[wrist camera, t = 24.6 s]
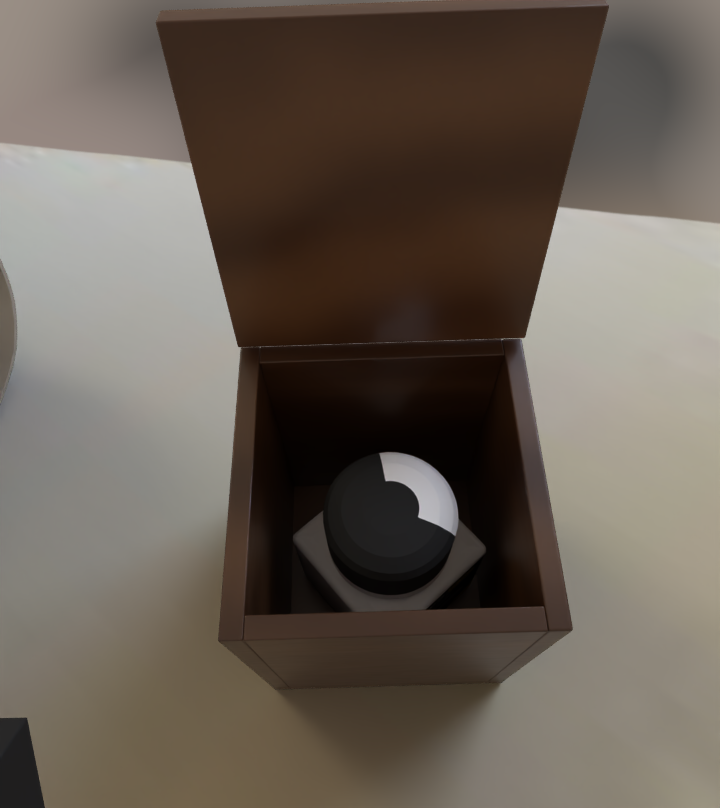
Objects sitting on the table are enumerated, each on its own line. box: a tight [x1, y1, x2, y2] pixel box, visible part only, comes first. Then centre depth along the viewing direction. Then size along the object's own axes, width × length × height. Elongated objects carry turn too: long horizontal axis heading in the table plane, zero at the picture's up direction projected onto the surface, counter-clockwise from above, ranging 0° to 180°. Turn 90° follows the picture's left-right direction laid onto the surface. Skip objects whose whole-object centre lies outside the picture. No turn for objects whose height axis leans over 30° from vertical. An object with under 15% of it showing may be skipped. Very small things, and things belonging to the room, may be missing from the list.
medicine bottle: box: [293, 452, 486, 613], centre depth 34 cm, size 7×7×12 cm
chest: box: [218, 339, 573, 689], centre depth 33 cm, size 13×13×15 cm
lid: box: [156, 0, 609, 347], centre depth 24 cm, size 14×13×1 cm
